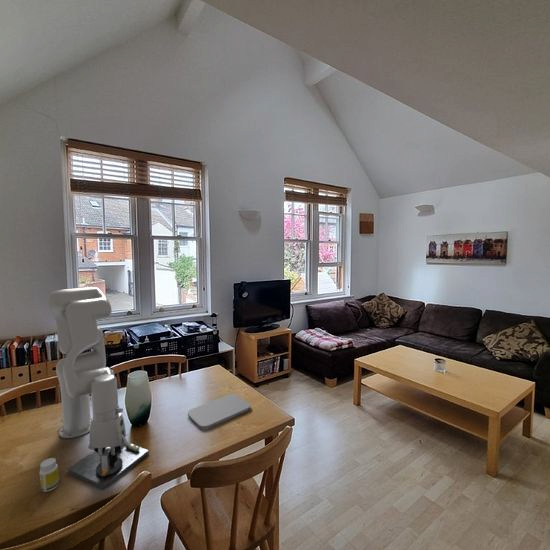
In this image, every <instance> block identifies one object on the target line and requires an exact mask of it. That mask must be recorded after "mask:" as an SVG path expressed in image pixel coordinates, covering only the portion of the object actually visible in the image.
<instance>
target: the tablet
mask: <svg viewBox="0 0 550 550" xmlns="http://www.w3.org/2000/svg"><path fill="white" fill-rule="evenodd" d="M250 408H251V404H250V402H248V401H247V400H246V399H243V398H242V397H241V396H239V395H238V394H235V393H231V394H227V395H224V396H221V397H220V398H217V399H215V400H212V401H209V402H207V403H204V404H201V405H199V406H196V407H193V408H191V409H189V410H188V411H187V416H188V418H189V419H191V421H192V422H193V423H194V424H195V425H197V426H198V427H199V428H200V429H201V430H208V429H211V428H213V427H215V426H217V425H219V424H222V423H223V422H226V421H228V420H230V419H232V418H235V417H237V416H239V415H241V414H244V413H246V412H248V411H249V410H250Z"/></svg>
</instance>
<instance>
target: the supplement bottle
mask: <svg viewBox="0 0 550 550" xmlns="http://www.w3.org/2000/svg"><path fill="white" fill-rule="evenodd" d="M39 465H40V466H39V469H40V470H39V475H38V476H39V483H40V491H41V492H43V493H47V492H51V491H53V490H55V489H56V488H57V487H58V486H59V484H60V475H59V465H58V464H57V460H56V457H50V458H47V459H44V460H43V461H41V462H40V464H39Z"/></svg>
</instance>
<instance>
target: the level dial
mask: <svg viewBox="0 0 550 550" xmlns="http://www.w3.org/2000/svg"><path fill="white" fill-rule="evenodd" d="M110 455H111V447H107V448H106V449H105V451H104V452H103V454H102V456H101V462H102V463H100V464H99V465H98V466H97V467H96V474H97V475H98V476H101V477H105V476H110V475H112V474H114V473H116V472H117V471H119V470H120V469H121V467H122V465H123V461H122V459H121V458H119V457H117V461H116V462H115V464H114V465H113V467H111V466H110Z"/></svg>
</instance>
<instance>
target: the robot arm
mask: <svg viewBox="0 0 550 550" xmlns="http://www.w3.org/2000/svg"><path fill="white" fill-rule="evenodd" d="M47 305H48V308H49V310H50V312H51V314H52V316H53V317H54V320H55V324H56V334H57V343H58V344H57V345H58V349H59V352H61V353H62V354H66V356H65V357H64V358H61V359H60V360H58V362H57V363H56V365H55V371H56V376H57V379H58V384H59V388H60V389H59V390H60V399H61V410H62V411H61V412H62V418H61V419H60V422H62V423H63V426H62V427H61V428H60V430H59V432H58V433H59V437H61V438H62V439H74V438H77V437H79V438H80V437H81V436H85V434H87V433H89V435H88V436H89V439H88V440H89V444H88V446H87V448H88V450H92V451H95V452H97V453H98V455H99V456H100V459H101V456H102V454H103V452H104V451H105V449H106V447H111V455H110V466H111V467H113V465H114V464H115V462H116V461H117V452H118V451H119V450H120V449H121V448H123V447H125V446H126V445H127V444H128V441H127V440H128V439H126V437H127V433H126V426H125V420H124V417H123V411H124V409H123V407H120V405H119V396H118V395H119V393H118V379H117V377H116V375H115V372H114V370H113V369H111V367H108V366H106V364H107V358H106V347H105V344H106V343H105V338H104V337H105V336H104V332H103V330H102V329H101V327H100V326H98V323H97V321H101V320H107V319H109V318H110V317H111V316H112V305H111V303H110V301H109V299H108V297H107V296H106V295H105V294H104V293H103V292H102V290H101V289H100V288H98V287H96V286H86V287H76V288H75V287H74V288H65V289H58V290H54V291H51V292H50V293H48V296H47ZM88 350H91V351H88ZM85 351H87V352H85ZM90 395H91V406H90ZM90 407H92V410H91V408H90ZM91 411H92V417H91ZM101 463H102V462H101Z"/></svg>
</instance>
